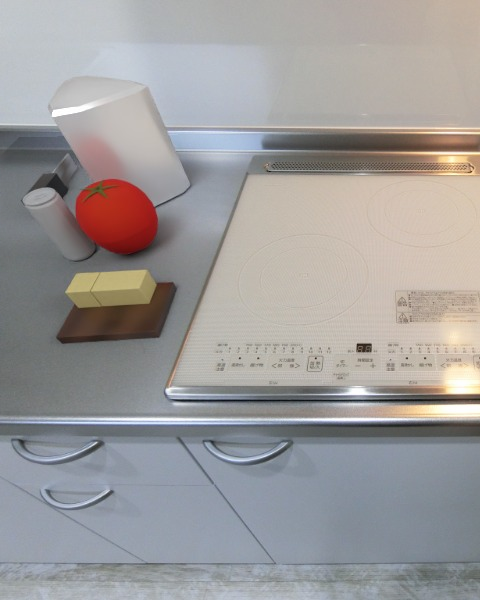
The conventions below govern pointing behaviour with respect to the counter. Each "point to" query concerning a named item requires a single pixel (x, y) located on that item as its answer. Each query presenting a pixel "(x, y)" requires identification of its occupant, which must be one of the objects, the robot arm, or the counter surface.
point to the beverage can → (59, 223)
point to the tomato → (117, 216)
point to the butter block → (124, 288)
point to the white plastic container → (119, 134)
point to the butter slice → (83, 290)
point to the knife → (56, 177)
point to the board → (119, 319)
